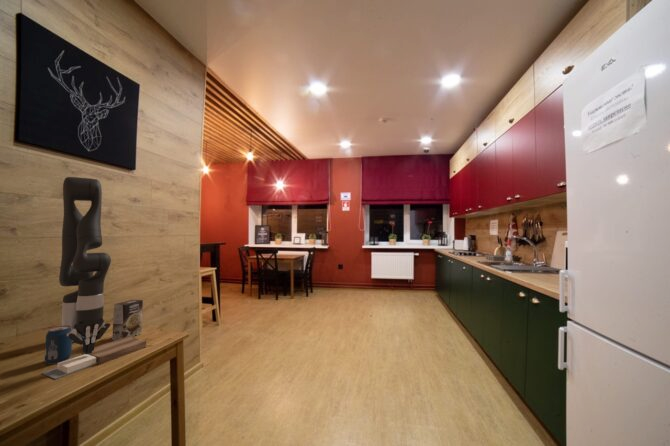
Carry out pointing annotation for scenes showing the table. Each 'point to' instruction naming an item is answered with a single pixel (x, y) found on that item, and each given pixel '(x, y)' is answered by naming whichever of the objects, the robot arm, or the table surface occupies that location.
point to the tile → (76, 363)
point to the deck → (116, 349)
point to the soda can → (58, 345)
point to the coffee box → (127, 319)
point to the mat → (61, 372)
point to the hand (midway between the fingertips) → (88, 353)
